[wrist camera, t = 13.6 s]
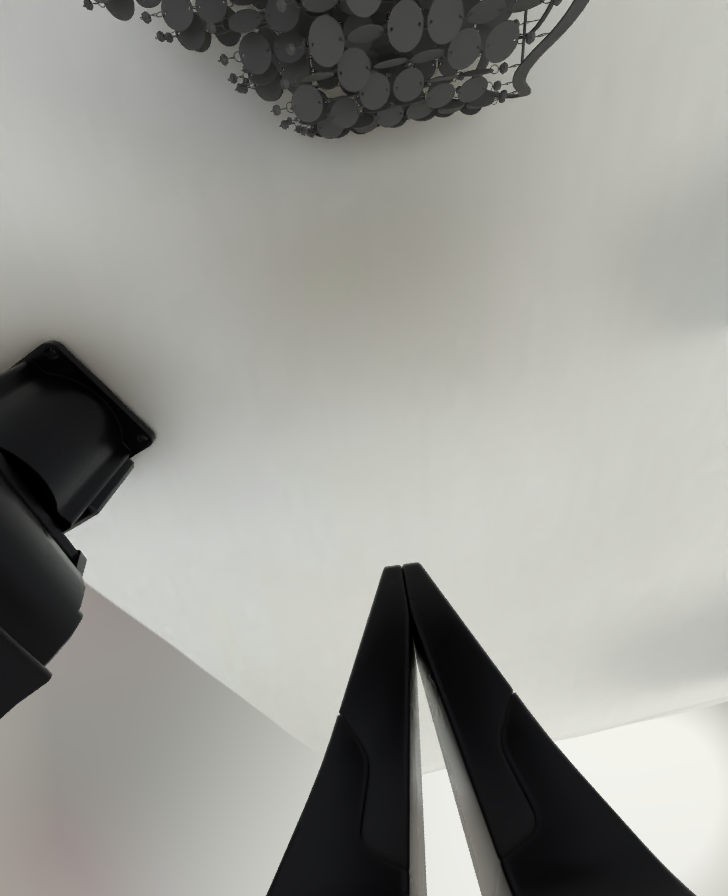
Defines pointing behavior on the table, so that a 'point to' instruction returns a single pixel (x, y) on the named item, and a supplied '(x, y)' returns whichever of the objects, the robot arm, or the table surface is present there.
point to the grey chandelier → (362, 53)
